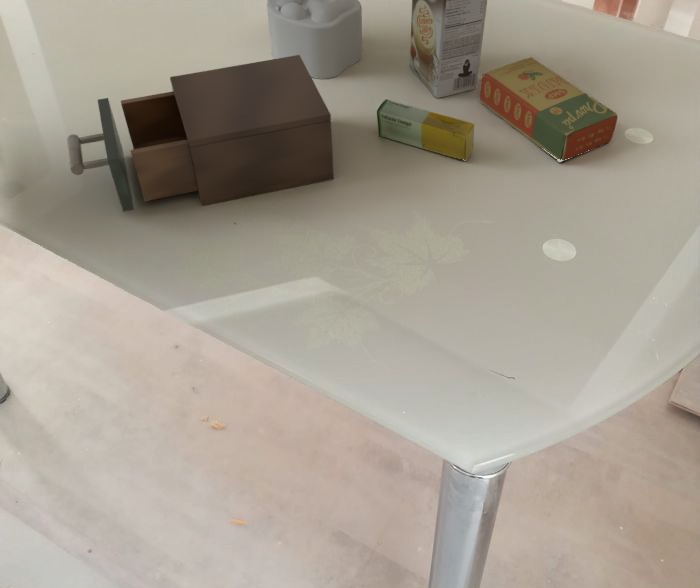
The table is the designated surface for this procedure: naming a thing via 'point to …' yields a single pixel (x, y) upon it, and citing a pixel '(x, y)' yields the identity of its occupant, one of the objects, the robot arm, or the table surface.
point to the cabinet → (254, 128)
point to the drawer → (142, 148)
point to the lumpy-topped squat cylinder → (317, 33)
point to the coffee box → (447, 44)
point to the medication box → (425, 129)
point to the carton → (547, 108)
